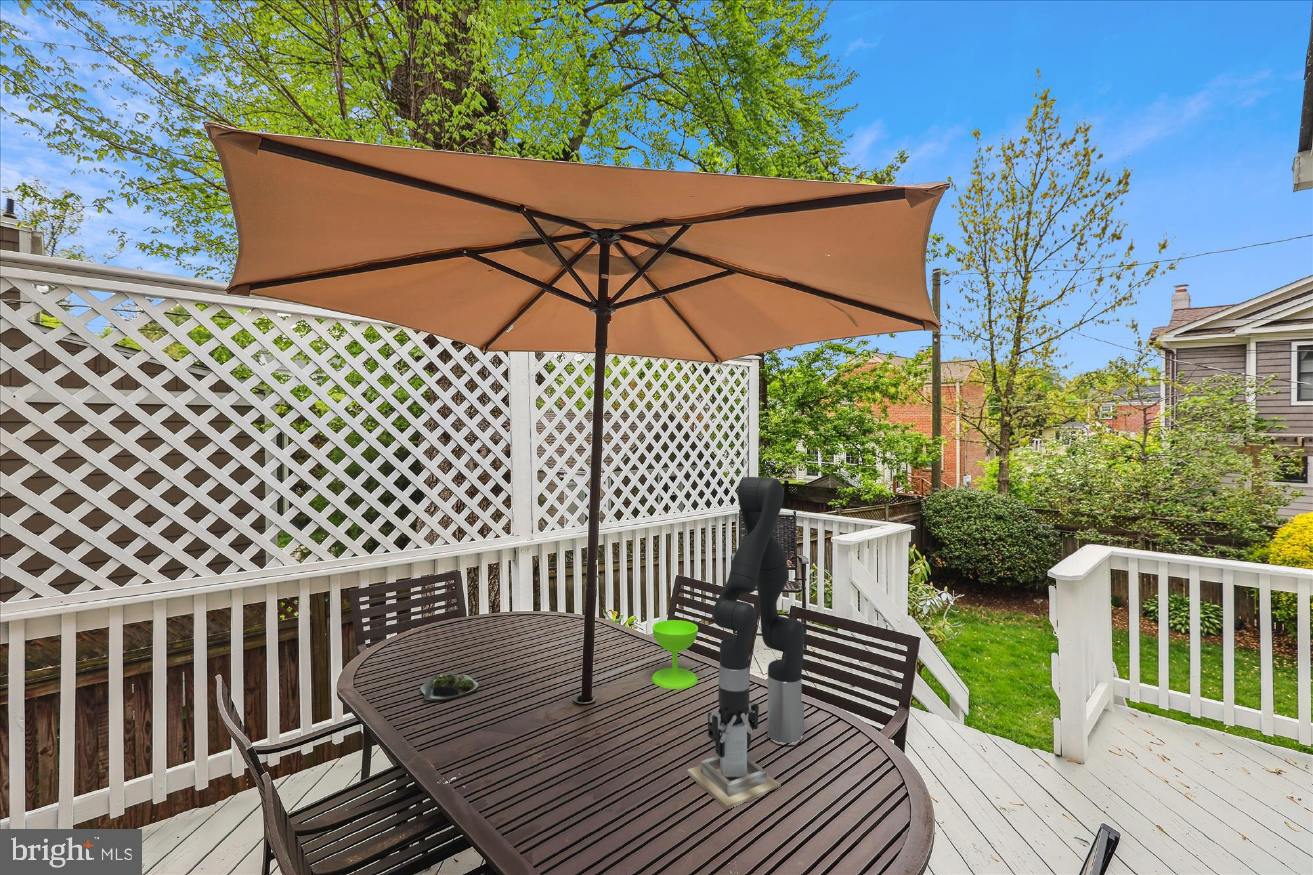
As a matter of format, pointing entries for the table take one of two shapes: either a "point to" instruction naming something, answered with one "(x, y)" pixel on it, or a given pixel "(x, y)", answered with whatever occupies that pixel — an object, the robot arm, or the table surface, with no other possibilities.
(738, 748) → the skincare box
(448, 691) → the salad plate
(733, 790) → the socket board
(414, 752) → the table surface
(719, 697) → the robot arm
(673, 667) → the wineglass
